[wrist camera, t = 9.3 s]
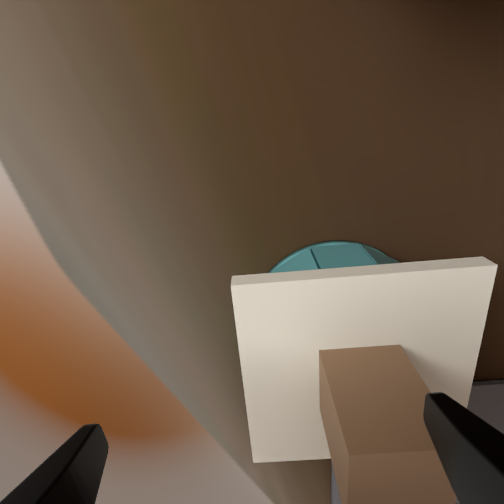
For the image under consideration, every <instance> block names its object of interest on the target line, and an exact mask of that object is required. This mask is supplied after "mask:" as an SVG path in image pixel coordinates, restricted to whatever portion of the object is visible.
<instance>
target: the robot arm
mask: <svg viewBox="0 0 504 504" xmlns="http://www.w3.org/2000/svg"><path fill="white" fill-rule="evenodd" d="M423 419H424V423H425V426H426V428H427V430H428V433H429V435H430V437H431V440H432V442H433V445H434V447H435V449H436V452H437V454H438V457H439V459H440V461H441V464H442V466H443V468H444V471H445V473H446V476H447V478H448V480H449V482H450V485H451V487H452V489H453V491H454V493H455V495H456V497H457V499H458V501H459V502H460V504H504V434H503V433H501V432H500V431H498V430H497V429H496V428H494V427H493V426H491V425H490V424H488V423H487V422H485V421H484V420H483V419H481V418H480V417H478V416H477V415H475V414H474V413H472V412H471V411H470V410H468V409H467V408H465V407H464V406H462V405H461V404H459V403H458V402H457V401H455V400H454V399H452V398H451V397H449V396H448V395H447V394H445V393H443V392H432V393H427V394H426V395H425V402H424V411H423ZM107 454H108V442H107V440H106V437H105V435H104V432H103V430H102V428H101V426H100V425H99V424H87V425H84V426H83V427H81V428H80V429H79V430H78V431H77V432H76V433H74V434H73V435H72V436H71V437H70V438H69V439H68V440H67V441H66V442H65V443H64V444H62V445H61V446H60V447H59V448H58V449H57V450H56V451H55V452H54V453H53V454H52V455H51V456H49V458H47V459H46V460H45V461H44V462H43V463H42V464H41V465H40V466H39V467H38V468H37V469H35V470H34V471H33V472H32V473H31V474H30V475H29V476H28V477H27V478H26V479H25V480H23V481H22V482H21V483H20V484H19V485H18V486H17V487H16V488H15V489H14V490H13V491H12V492H10V493H9V494H8V495H7V496H6V497H5V498H4V499H3V500H2V501H1V502H0V504H95V501H96V497H97V493H98V489H99V485H100V481H101V477H102V474H103V469H104V466H105V462H106V458H107Z"/></svg>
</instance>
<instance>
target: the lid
mask: <svg viewBox="0 0 504 504" xmlns="http://www.w3.org/2000/svg"><path fill="white" fill-rule="evenodd" d="M497 266H498V265H497V264H495V263H493V262H492V261H490V260H488V259H486V258H485V257H483V256H482V257H470V258H457V259H444V260H431V261H418V262H406V263H393V264H380V265H367V266H354V267H342V268H329V269H316V270H303V271H290V272H278V273H265V274H252V275H239V276H232V280H231V292H232V300H233V307H234V315H235V323H236V331H237V339H238V346H239V354H240V362H241V370H242V378H243V386H244V393H245V401H246V409H247V417H248V425H249V432H250V440H251V448H252V456H253V463H260V462H278V461H296V460H314V459H331V460H332V465H333V469H334V473H335V478H336V482H337V487H338V491H339V495H340V500H341V504H455V502H456V498H457V497H456V495H455V493H454V491H453V489H452V487H451V485H450V482H449V480H448V478H447V476H446V473H445V471H444V468H443V466H442V464H441V461H440V459H439V457H438V454H437V452H436V449H435V447H434V445H433V442H432V440H431V437H430V435H429V433H428V430H427V428H426V426H425V423H424V419H423V411H424V402H425V395H426V394H427V393H432V392H443V393H445V394H447V395H448V396H449V397H451V398H452V399H454V400H455V401H457V402H458V403H459V404H461V405H462V406H464V407H465V408H467V406H468V401H469V396H470V392H471V387H472V382H473V378H474V373H475V368H476V364H477V359H478V354H479V350H480V345H481V340H482V336H483V331H484V327H485V322H486V317H487V313H488V308H489V303H490V299H491V294H492V289H493V285H494V280H495V275H496V271H497Z"/></svg>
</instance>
